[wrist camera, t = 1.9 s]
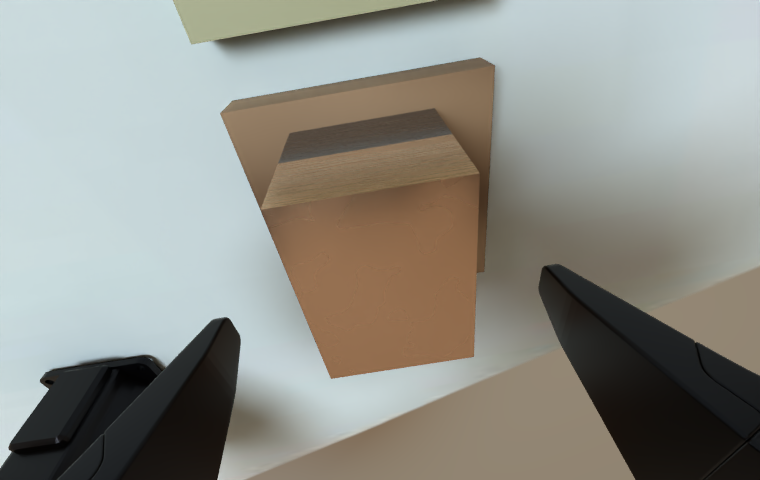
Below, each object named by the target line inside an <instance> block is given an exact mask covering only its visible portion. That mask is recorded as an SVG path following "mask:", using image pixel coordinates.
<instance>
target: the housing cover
mask: <svg viewBox="0 0 760 480" xmlns="http://www.w3.org/2000/svg"><path fill="white" fill-rule="evenodd" d="M479 184H480V173H479V171H478V170H477V169H476V167H475V166H474V164H473V163H472V161H471V160H470V158H469V157H468V156H467V154H466V153H465V151H464V150H463V148H462V147H461V146H460V144H459V143H458V141H457V140H456V138H455V137H454V136H453V134H449V135H443V136H438V137H432V138H426V139H420V140H414V141H408V142H402V143H396V144H390V145H385V146H379V147H373V148H367V149H361V150H355V151H349V152H343V153H337V154H332V155H326V156H320V157H314V158H308V159H302V160H296V161H290V162H284V163H279V164H278V165H277V167H276V170H275V173H274V175H273V178H272V181H271V183H270V186H269V189H268V191H267V194H266V197H265V199H264V202H263V204H262V207H261V212H262V215H263V217H264V220H265V222H266V224H267V227H268V229H269V232H270V234H271V236H272V239H273V241H274V243H275V246H276V248H277V251H278V253H279V255H280V258H281V260H282V263H283V265H284V267H285V270H286V272H287V275H288V277H289V279H290V282H291V284H292V287H293V289H294V291H295V294H296V296H297V298H298V301H299V303H300V306H301V308H302V310H303V313H304V315H305V318H306V320H307V322H308V325H309V327H310V330H311V332H312V334H313V337H314V339H315V342H316V344H317V346H318V349H319V351H320V354H321V356H322V358H323V361H324V363H325V365H326V368H327V370H328V373H329V375H330V377H331V379H332V378H339V377H345V376H352V375H358V374H365V373H371V372H378V371H384V370H391V369H397V368H404V367H410V366H417V365H423V364H430V363H436V362H443V361H449V360H456V359H462V358H469V357H474V334H475V304H476V274H477V244H478V214H479Z"/></svg>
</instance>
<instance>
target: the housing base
mask: <svg viewBox="0 0 760 480" xmlns="http://www.w3.org/2000/svg"><path fill="white" fill-rule="evenodd" d="M449 134H452V133H451V131H450V130H449V128H448V127H447V125H446V124H445V123H444V121H443V120H442V118H441V117H440V115H439V114H438V113H437V111H436V110H435V108H432V109H426V110H420V111H414V112H409V113H403V114H397V115H391V116H385V117H380V118H374V119H368V120H362V121H356V122H350V123H345V124H339V125H333V126H327V127H321V128H316V129H310V130H304V131H298V132H292V133H289V136H288V138H287V141H286V144H285V146H284V149H283V152H282V154H281V157H280V160H279V162H278V164H279V163H284V162H290V161H296V160H302V159H308V158H314V157H320V156H326V155H332V154H337V153H343V152H349V151H355V150H361V149H367V148H373V147H379V146H385V145H390V144H396V143H402V142H408V141H414V140H420V139H426V138H432V137H438V136H443V135H449Z"/></svg>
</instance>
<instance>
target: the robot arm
mask: <svg viewBox="0 0 760 480" xmlns="http://www.w3.org/2000/svg"><path fill="white" fill-rule="evenodd" d="M539 293H540V296H541V299H542V301H543V304H544V306H545V308H546V311H547V313H548V316H549V318H550V320H551V323H552V325H553V328H554V330H555V333H556V335H557V337H558V339H559V342H560V344H561V346H562V348H563V350H564V351H565V353H566V355H567V357H568V359H569V360H570V362H571V364H572V366H573V368H574V369H575V371H576V373H577V375H578V377H579V378H580V380H581V382H582V384H583V386H584V387H585V389H586V391H587V393H588V395H589V397H590V398H591V400H592V402H593V404H594V406H595V407H596V409H597V411H598V413H599V414H600V416H601V418H602V420H603V422H604V424H605V425H606V427H607V429H608V431H609V433H610V434H611V436H612V438H613V440H614V442H615V443H616V445H617V447H618V449H619V451H620V452H621V454H622V456H623V458H624V460H625V462H626V463H627V465H628V467H629V469H630V471H631V472H632V474H633V476H634V478H635V480H760V376H759V375H757V374H755V373H753V372H751V371H749V370H747V369H746V368H744V367H742V366H740V365H738V364H736V363H734V362H733V361H731V360H729V359H727V358H725V357H723V356H721V355H720V354H718V353H716V352H714V351H712V350H711V349H709V348H707V347H705V346H703V345H702V344H700V343H698V342H696V343H695V342H694V340H693V339H691V338H689V337H687V336H686V335H684V334H682V333H680V332H679V331H677V330H675V329H673V328H671V327H670V326H668V325H666V324H664V323H662V322H661V321H659V320H657V319H656V318H654V317H652V316H650V315H648V314H647V313H645V312H643V311H641V310H640V309H638V308H636V307H634V306H633V305H631V304H629V303H627V302H625V301H624V300H622V299H620V298H618V297H617V296H615V295H613V294H611V293H610V292H608V291H606V290H604V289H602V288H601V287H599V286H597V285H595V284H594V283H592V282H590V281H588V280H587V279H585V278H583V277H581V276H579V275H578V274H576V273H574V272H572V271H571V270H569V269H567V268H565V267H564V266H562V265H559V264H554V265H547V266H544V267H543V268H542V271H541V277H540V282H539ZM240 344H241V339H240V335H239V333H238V332H237V330H236V328H235V327H234V325H233V323H232V322H231V320H230V319H229V318H227V317H224V318H218V319H213V320H212V321H211V322H210V323H209V324H208V325H207V326H206V327H205V328H204V329H203V330H202V331H201V332H200V333H199V334H198V335H197V336H196V337H195V338H194V339H193V340H192V341H191V342H190V343H189V344H188V345H187V346H186V347H185V349H184V350H183V351H182V352H181V353H180V354H179V355H178V356H177V357H176V358H175V359H174V360H173V361H172V362H171V363H170V364H169V365H168V366H167V367H166V368H165V369H164V370H163V371H161V370H160V369H159V368H158V367H157V366H156V365H155V364H154V362H153V361H152V360H150V359H148V358H145V357H138V358H131V359H125V360H119V361H112V362H106V363H100V364H93V365H87V366H81V367H74V368H68V369H62V370H55V371H49V372H46V373H45V374H44V375H43V377H42V378H41V379H40V382H41V383H42V384H43V385H44V386H46V387H47V388H48V389H49V390H48V392H47V393H46V394H45V396H44V397H43V399H42V400H41V401H40V403H39V404H38V405H37V407H36V408H35V410H34V411H33V412H32V414H31V415H30V416H29V418H28V419H27V420H26V422H25V423H24V425H23V426H22V427H21V429H20V430H19V431H18V433H17V434H16V436H15V437H14V438H13V440H12V441H11V443H10V445H9V447H8V448H9V450H10V451H12V452H11V454H10V455H9V457H8V458H7V459H6V461H5V462H4V464H3V465H2V466H1V468H0V480H217V478H218V474H219V469H220V464H221V460H222V455H223V450H224V445H225V441H226V436H227V431H228V427H229V422H230V417H231V412H232V408H233V403H234V398H235V392H236V384H237V374H238V364H239V354H240Z"/></svg>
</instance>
